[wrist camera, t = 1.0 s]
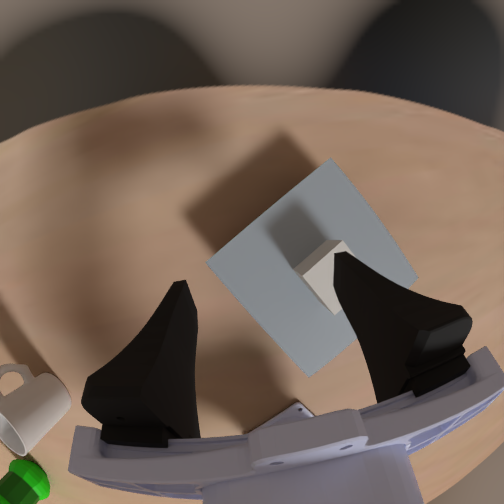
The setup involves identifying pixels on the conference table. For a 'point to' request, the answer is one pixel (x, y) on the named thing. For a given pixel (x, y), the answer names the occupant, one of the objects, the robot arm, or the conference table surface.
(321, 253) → the bin lid
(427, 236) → the conference table surface
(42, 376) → the mug
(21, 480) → the plastic bottle
